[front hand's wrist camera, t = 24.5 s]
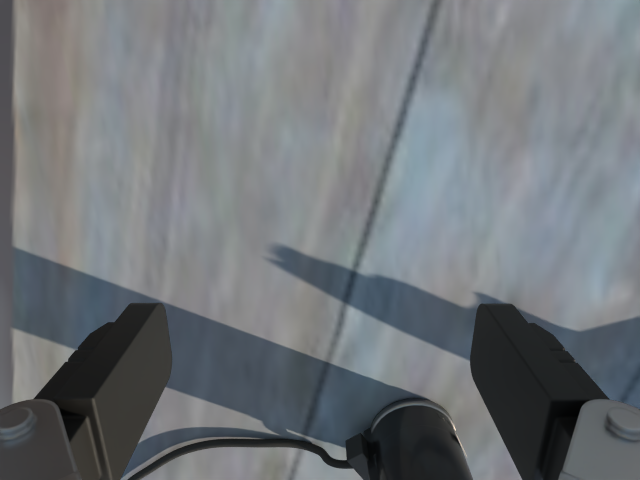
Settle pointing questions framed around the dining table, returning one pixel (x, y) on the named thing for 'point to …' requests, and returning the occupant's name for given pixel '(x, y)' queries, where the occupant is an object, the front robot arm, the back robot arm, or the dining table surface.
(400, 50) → the dining table surface
